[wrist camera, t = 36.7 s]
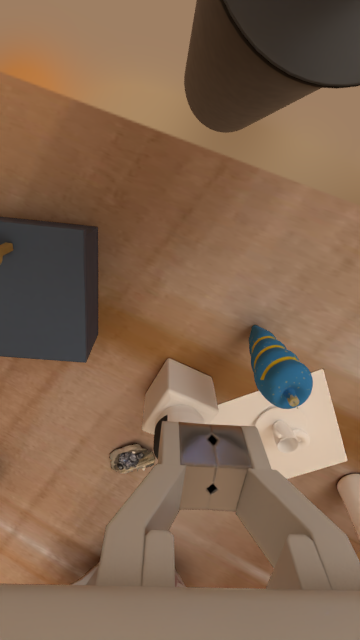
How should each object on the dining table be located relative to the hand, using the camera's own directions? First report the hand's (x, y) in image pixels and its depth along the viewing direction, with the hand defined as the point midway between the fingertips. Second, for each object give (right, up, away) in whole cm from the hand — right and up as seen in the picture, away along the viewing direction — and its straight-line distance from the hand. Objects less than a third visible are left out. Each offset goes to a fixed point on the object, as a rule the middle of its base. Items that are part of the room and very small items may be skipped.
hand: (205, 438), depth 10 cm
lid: (-19, +7, +22) cm, 30 cm away
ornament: (+9, +3, +31) cm, 33 cm away
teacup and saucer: (+14, -15, +40) cm, 45 cm away
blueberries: (-9, -18, +41) cm, 46 cm away
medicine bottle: (-1, -5, +35) cm, 36 cm away
